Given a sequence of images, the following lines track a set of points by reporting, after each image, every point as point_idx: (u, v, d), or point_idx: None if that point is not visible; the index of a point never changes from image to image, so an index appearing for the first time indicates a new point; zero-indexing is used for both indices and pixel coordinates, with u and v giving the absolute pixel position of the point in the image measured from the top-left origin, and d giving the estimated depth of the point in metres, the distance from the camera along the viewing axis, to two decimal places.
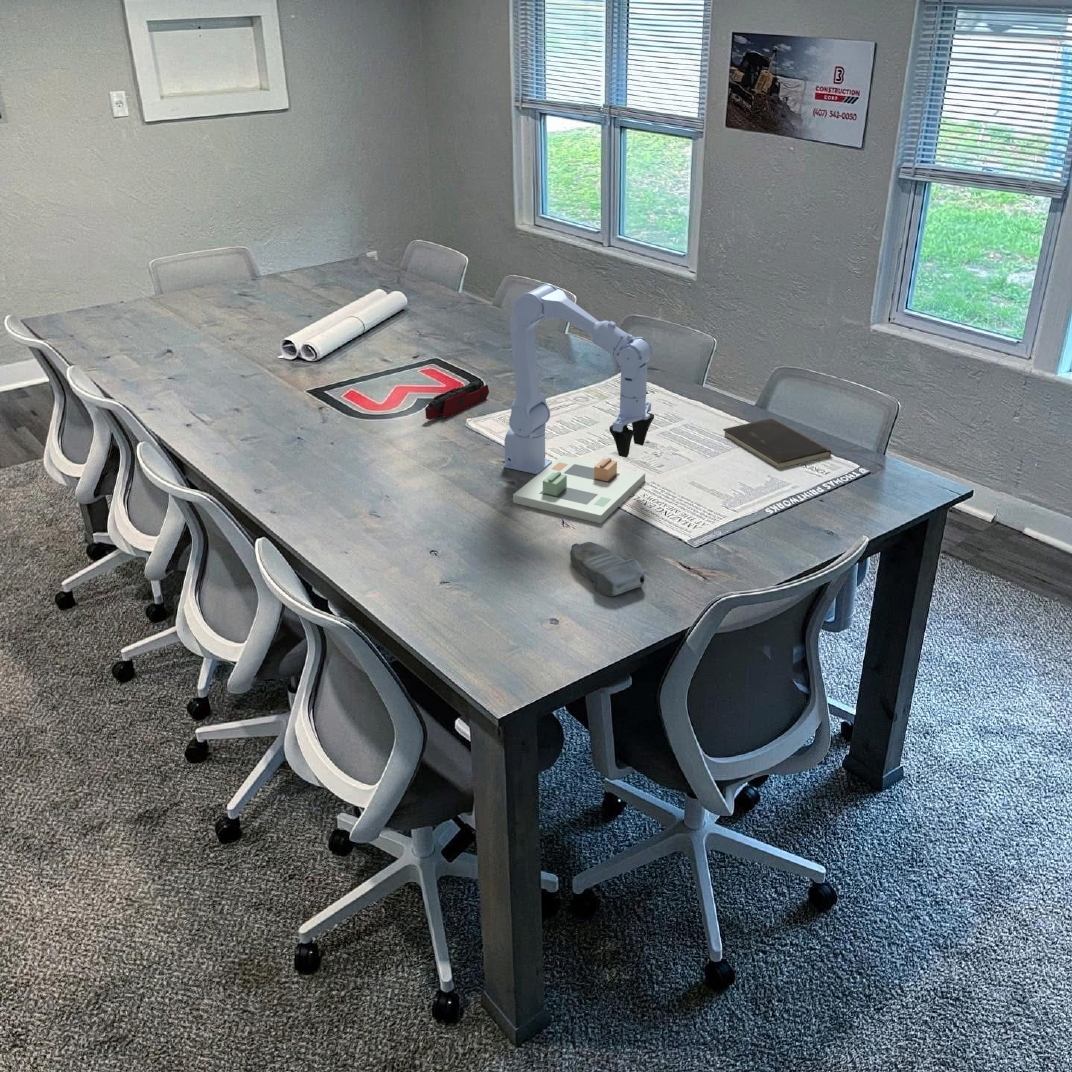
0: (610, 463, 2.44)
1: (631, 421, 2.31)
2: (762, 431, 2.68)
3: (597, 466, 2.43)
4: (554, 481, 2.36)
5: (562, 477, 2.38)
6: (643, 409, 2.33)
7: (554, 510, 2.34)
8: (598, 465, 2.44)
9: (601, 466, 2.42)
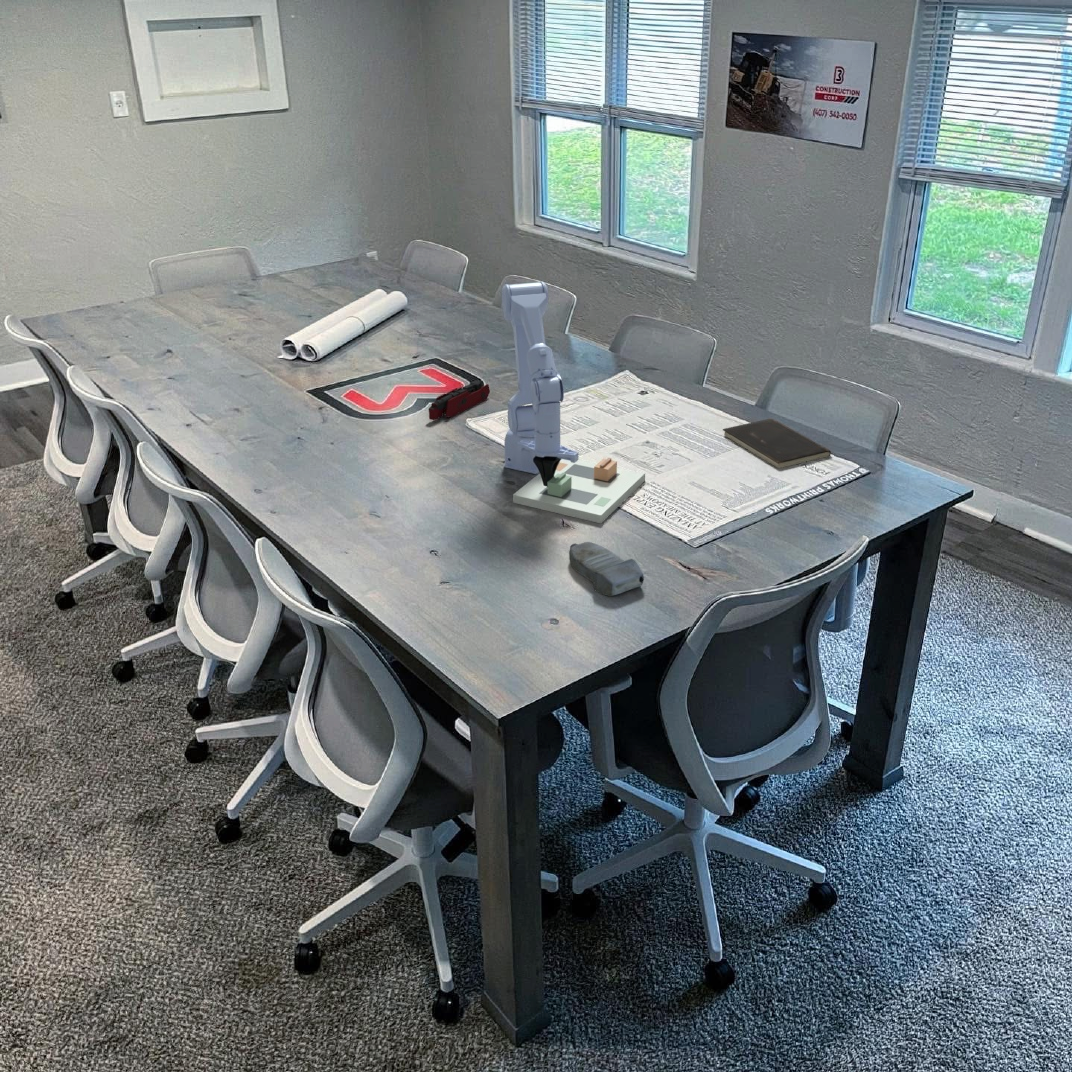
0: (610, 463, 2.44)
1: (528, 448, 2.36)
2: (762, 431, 2.68)
3: (597, 466, 2.43)
4: (559, 482, 2.36)
5: (567, 478, 2.38)
6: (540, 446, 2.32)
7: (554, 510, 2.34)
8: (598, 465, 2.44)
9: (601, 466, 2.42)
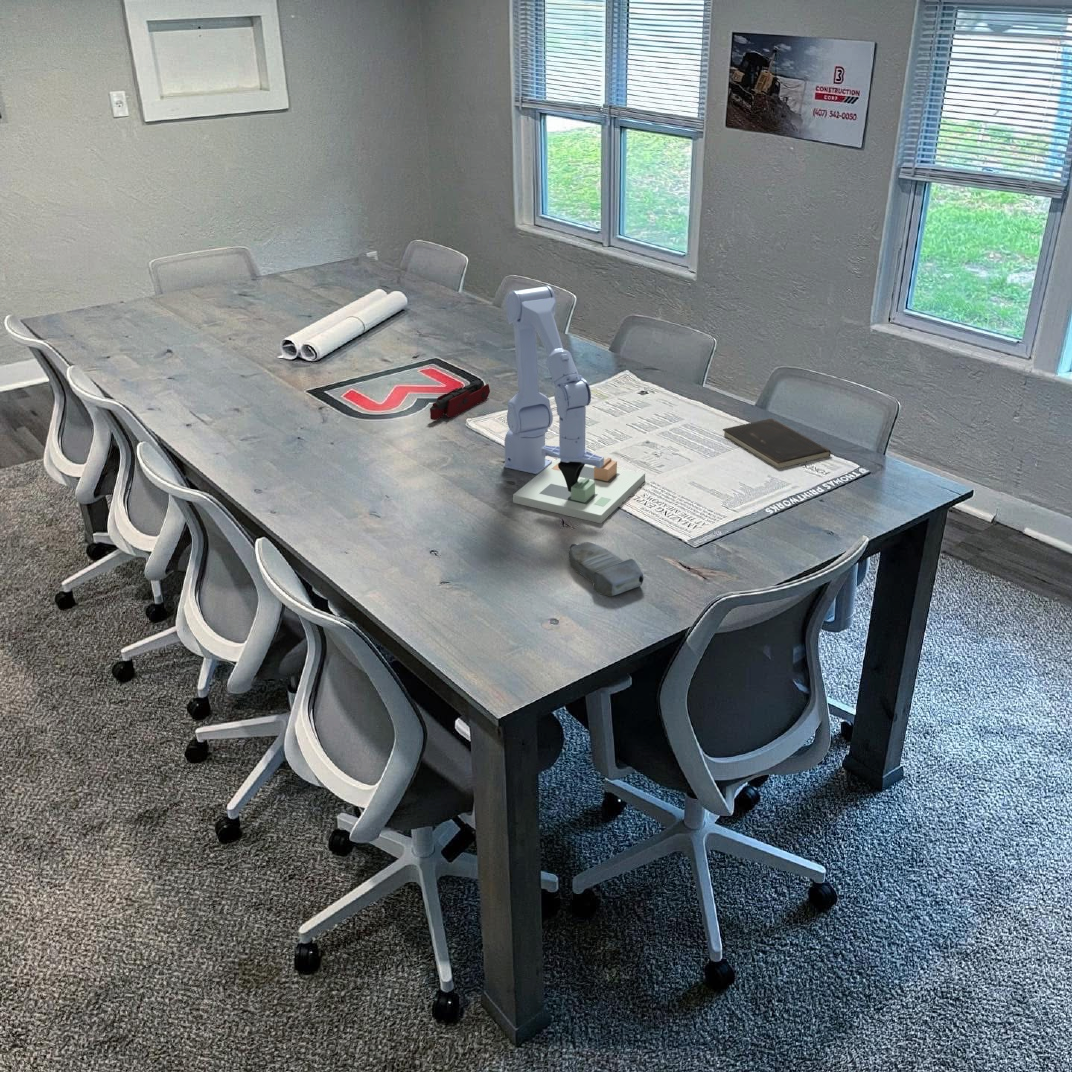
0: (610, 463, 2.44)
1: (552, 454, 2.33)
2: (762, 431, 2.68)
3: None
4: (583, 487, 2.33)
5: (590, 483, 2.35)
6: (565, 451, 2.30)
7: (554, 510, 2.34)
8: None
9: None
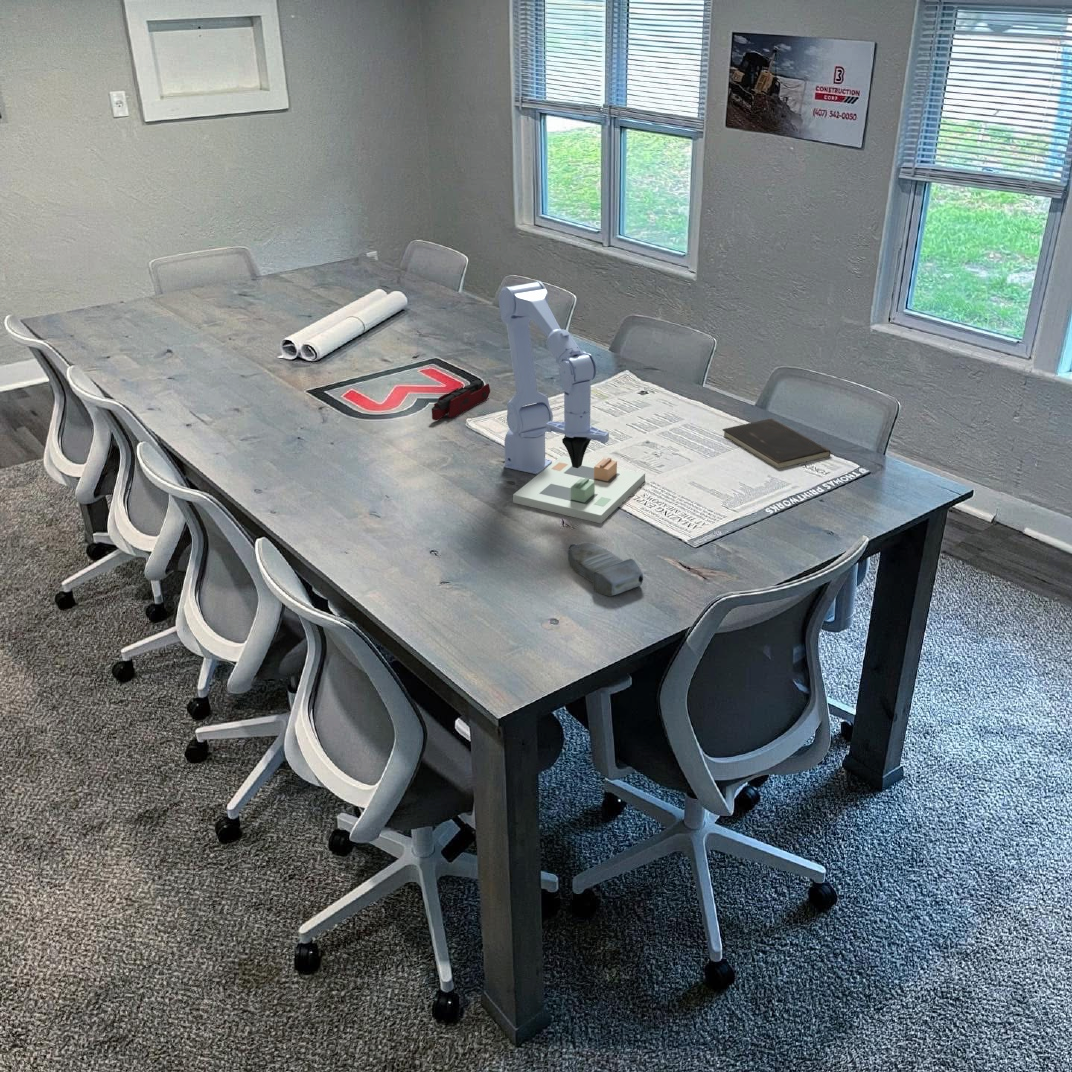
0: (610, 463, 2.44)
1: (557, 429, 2.32)
2: (762, 431, 2.68)
3: (597, 466, 2.43)
4: (582, 487, 2.33)
5: (590, 483, 2.35)
6: (570, 426, 2.29)
7: (554, 510, 2.34)
8: (598, 465, 2.44)
9: (601, 466, 2.42)
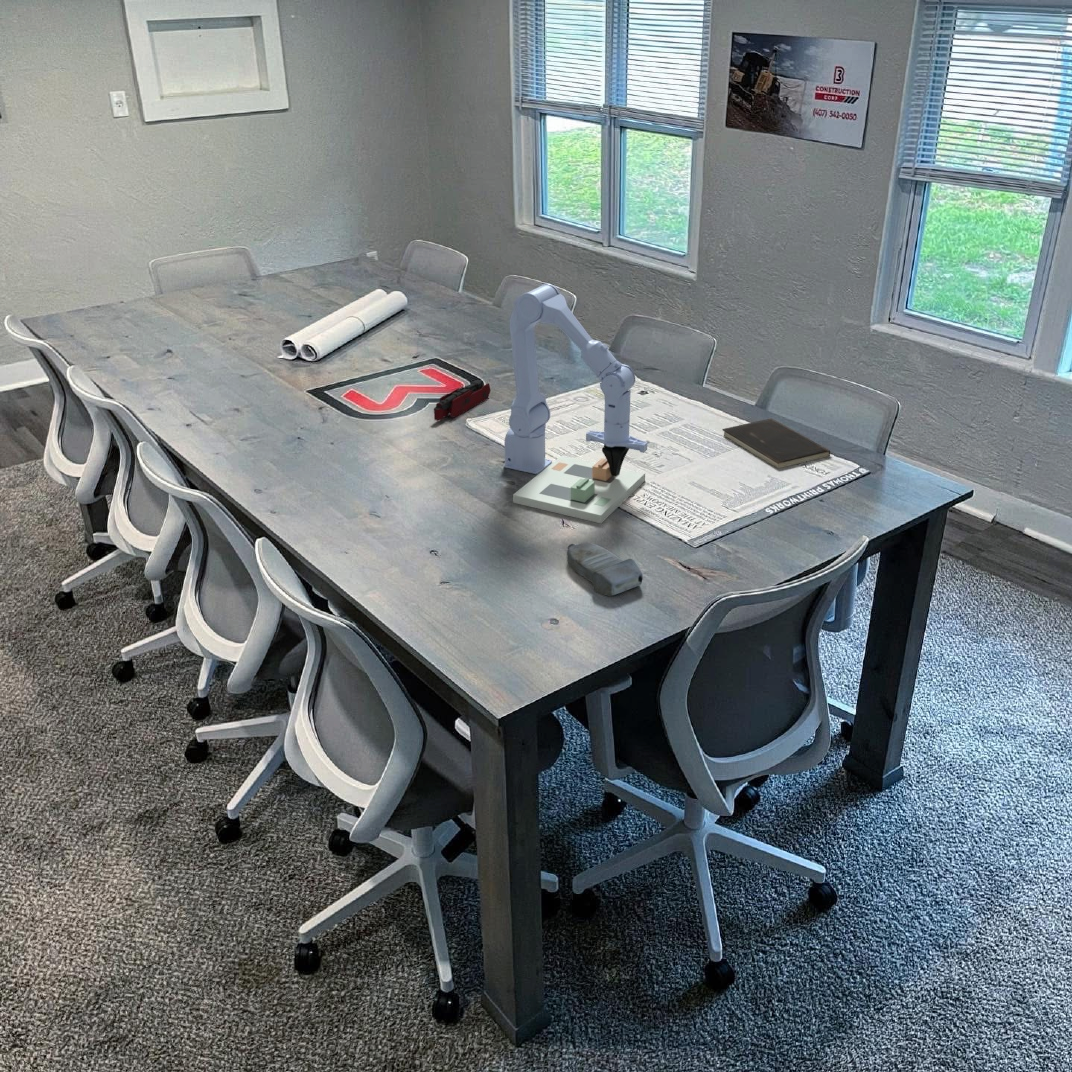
0: None
1: (597, 439, 2.40)
2: (762, 431, 2.68)
3: (595, 466, 2.43)
4: (582, 487, 2.33)
5: (590, 483, 2.35)
6: (610, 436, 2.37)
7: (554, 510, 2.34)
8: (596, 465, 2.44)
9: (599, 466, 2.42)
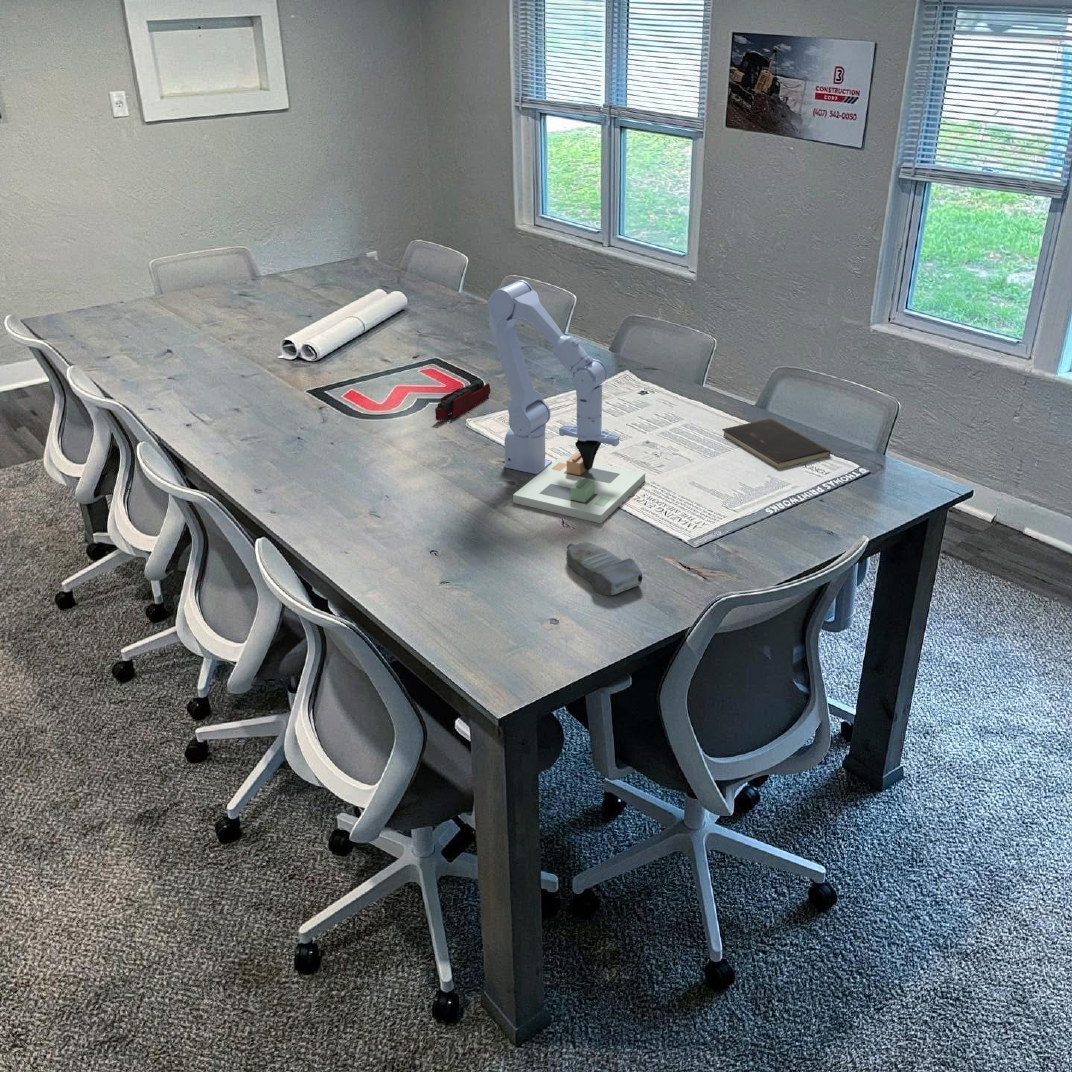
0: None
1: (570, 433, 2.43)
2: (762, 431, 2.68)
3: (569, 460, 2.46)
4: (582, 487, 2.33)
5: (590, 483, 2.35)
6: (582, 430, 2.40)
7: (554, 510, 2.34)
8: (571, 459, 2.47)
9: (573, 460, 2.45)
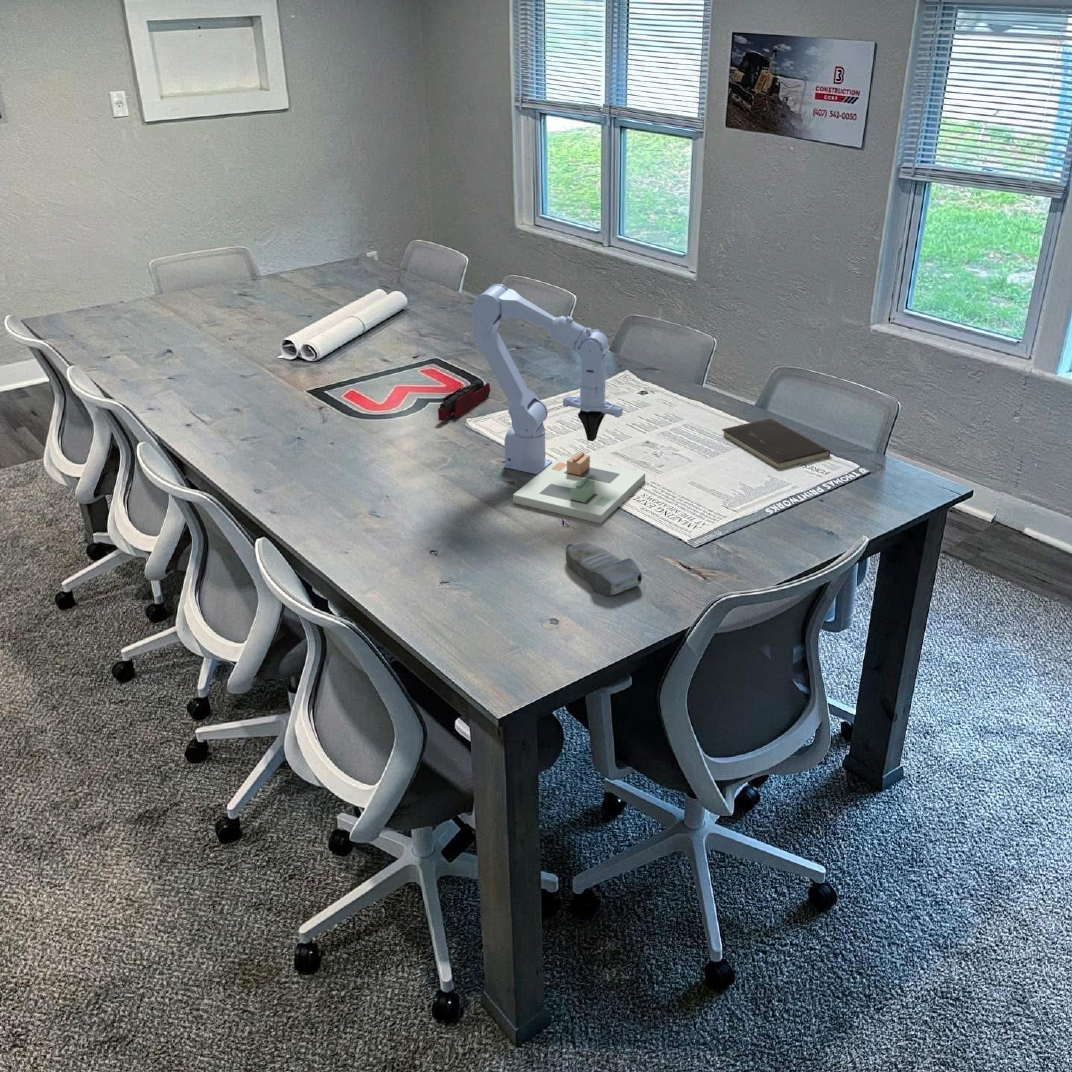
0: (583, 457, 2.47)
1: (573, 404, 2.44)
2: (761, 431, 2.68)
3: (570, 460, 2.46)
4: (582, 487, 2.33)
5: (590, 483, 2.35)
6: (585, 401, 2.41)
7: (554, 510, 2.34)
8: (571, 459, 2.47)
9: (574, 460, 2.45)
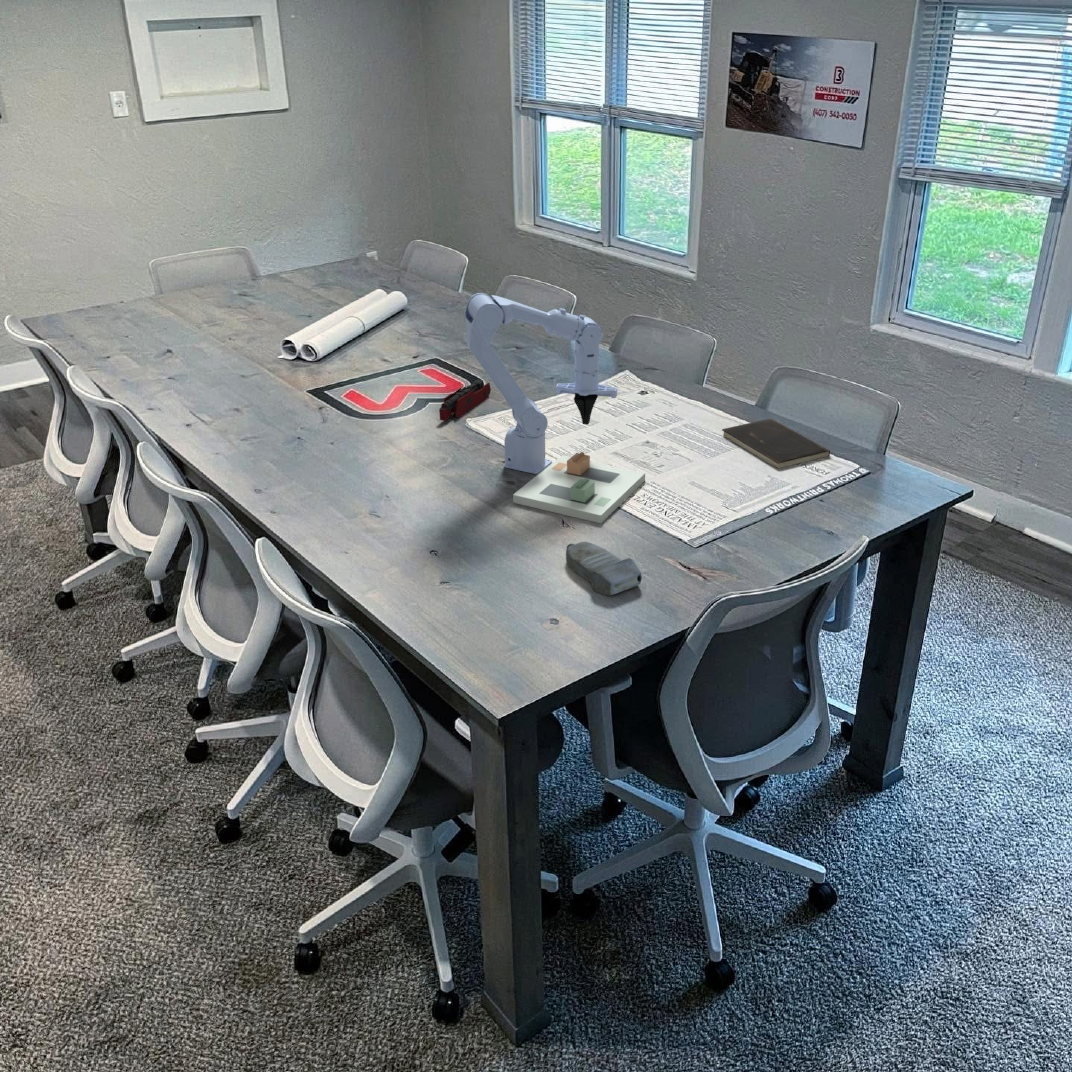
0: (583, 457, 2.47)
1: (568, 390, 2.50)
2: (761, 431, 2.68)
3: (570, 460, 2.46)
4: (582, 487, 2.33)
5: (590, 483, 2.35)
6: (583, 385, 2.48)
7: (554, 510, 2.34)
8: (571, 459, 2.47)
9: (574, 460, 2.45)
